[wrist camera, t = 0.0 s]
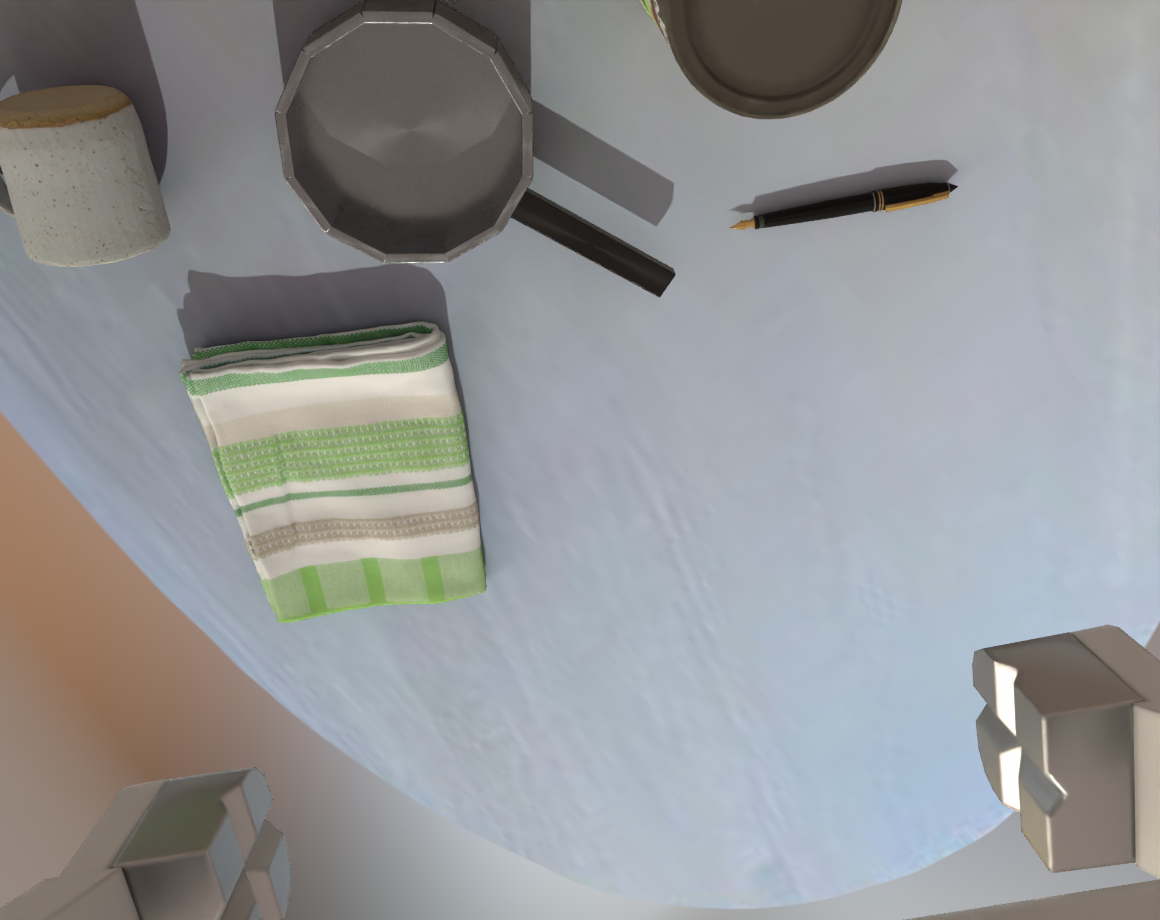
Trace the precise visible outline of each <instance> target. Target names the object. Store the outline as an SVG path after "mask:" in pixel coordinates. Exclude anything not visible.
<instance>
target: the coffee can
mask: <svg viewBox="0 0 1160 920" xmlns="http://www.w3.org/2000/svg"><path fill="white" fill-rule="evenodd" d="M639 1H640V2H641V4H642V6H643V7H644V9H645V10H646V12H647V13H648V14H649V15H650V16H651V17H652V19H653V20H654V21H655V23H656V24H657V26H658V27H659V29H660V31H661V32H662V34H663V36H664V37H665V39H666V40H667V42H668V44H669V45H670V47H671V50H672V52H673V54H674V57H675V59H676V61H677V63H678V64H679V66H680V68H681V70H682V71H683V73H684V74H685V76H686V77H687V79H688V80H689V82H690V83H691V84H692V85H693V86H694V87H695V88H696V89H697V90H698V91H699V92H700V93H701V94H702V95H703V96H705V97H706V98H707V99H708V100H709V101H711V102H713V103H714V104H716V105H717V106H719V107H721V108H723V109H725V110H727V111H730V112H732V113H735V114H738V115H740V116H744V117H750V118H756V119H781V118H789V117H793V116H798V115H801V114H804V113H807V112H811V111H813V110H815V109H817V108H819V107H821V106H823V105H825V104H827V103H829V102H831V101H833V100H834V99H836V98H837V97H839V96H840V95H842V94H843V93H844V92H845V91H847V90H848V89H849V88H850V87H852V86H853V85H854V84H855V83H856V82H857V81H858V80H859V79H860V78H861V77H862V76H863V75H864V74H865V73H866V72H867V71H868V69H869V68H870V67H871V66H872V64H873V63H874V62H875V61H876V59H877V58H878V56H879V55H880V53H881V52H882V50H883V48H884V47H885V45H886V43H887V41H888V39H889V37H890V35H891V33H892V31H893V28H894V26H895V23H896V21H897V18H898V15H899V12H900V8H901V3H902V0H639Z"/></svg>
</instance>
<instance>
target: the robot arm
mask: <svg viewBox="0 0 1160 920" xmlns="http://www.w3.org/2000/svg"><path fill="white" fill-rule="evenodd" d="M972 669H973V686H974V687H975V688H976V690H977V691H978V692H979V694H980V695H981V696H982V697H983V699H984V700H985V701H986V703H987V704H986V706H985V707H984V709H983V711H982V712H981V714H980V715H979V717H978V719H977V720H976V728H977V738H978V748H979V752H980V756H981V759H982V763H983V767H984V771H985V774H986V776H987V778H988V780H989V782H990V784H991V787H992V789H993V791H994V792H995V794H996V795H997V797H998V798H999V800H1000V801H1001V803H1002V804H1003V805H1004V806H1006V807H1009V808H1011V809H1013V810H1015V811H1017V812H1019V813H1020V816H1021V831H1022V833H1023V834H1024V836H1025V837H1026V838H1027V840H1028V841H1029V843H1030V844H1031V846H1032V847H1033V848H1034V850H1035V851H1036V853H1037V854H1038V855H1039V857H1040V858H1041V860H1042V861H1043V862H1044V864H1045V865H1046V867H1047V868H1048V870H1049V871H1050V872H1051V873H1057V872H1065V871H1072V870H1080V869H1088V868H1096V867H1103V866H1111V865H1119V864H1127V863H1134V862H1136V866H1137V867H1139V868H1140V869H1142V870H1144V871H1145V872H1147V873H1149V874H1151V875H1152V876H1154V877H1156V878H1158V879H1159V880H1153V881H1147V882H1141V883H1135V884H1128V885H1122V886H1115V887H1109V888H1103V889H1096V890H1090V891H1083V892H1077V893H1071V894H1065V895H1058V896H1052V897H1045V898H1039V899H1033V900H1026V901H1020V902H1014V903H1007V904H1001V905H994V906H988V907H982V908H975V909H969V910H963V911H957V912H950V913H943V914H937V915H931V916H925V917H918V918H912V919H906V920H1160V661H1159V660H1158V659H1157V658H1156V657H1155V656H1153V655H1152V654H1151V653H1150V652H1148V651H1147V650H1146V649H1145V648H1144V647H1142V646H1141V645H1140V644H1139V643H1137V642H1136V641H1135V640H1134V639H1132V638H1131V637H1130V636H1129V635H1128V634H1126V633H1125V632H1124V631H1123V630H1121V629H1120V628H1119V627H1116V626H1111V625H1104V626H1099V627H1094V628H1090V629H1085V630H1080V631H1075V632H1070V633H1069V632H1068V633H1063V634H1058V635H1052V636H1047V637H1042V638H1036V639H1031V640H1026V641H1021V642H1015V643H1010V644H1005V645H999V646H994V647H989V648H984V649H980V650H977V651H974V658H973V664H972ZM272 801H273V798H272V795H271V792H270V789H269V786H268V783H267V780H266V777H265V774H263V773H262V772H261V771H260V770H259V769H258V768H257V767H251V768H244V769H238V770H231V771H224V772H217V773H210V774H203V775H196V776H190V777H182V778H175V779H172V780H169V779H164V780H158V781H153V782H148V783H143V784H137V785H132V786H129V787H126V788H123V789H121V790H120V791H119V792H118V794H117V795H116V797H115V798H114V799H113V801H112V802H111V804H110V805H109V807H108V808H107V809H106V811H105V812H104V814H103V815H102V817H101V818H100V819H99V821H98V822H97V824H96V825H95V827H94V828H93V829H92V831H91V832H90V834H89V835H88V836H87V838H86V839H85V840H84V842H83V843H82V845H81V846H80V848H79V849H78V850H77V852H76V854H75V855H74V856H73V857H72V859H71V860H70V862H69V863H68V865H67V866H66V867H65V869H64V870H63V872H62V873H61V874H60V876H59V877H55V878H49V879H44V880H43V881H41V882H40V883H38V884H37V885H35V886H34V887H32V888H31V889H29V890H27V891H26V892H24V893H23V894H21V895H20V896H18V897H17V898H15V899H14V900H12V901H10V902H9V903H7V904H6V905H4V906H3V907H1V908H0V920H283V917H284V914H285V911H286V908H287V905H288V902H289V897H290V884H291V883H290V882H291V868H290V860H289V852H288V849H287V845H286V841H285V838H284V834H283V833H282V832H281V831H280V830H279V829H277V828H276V827H275V826H273V825H272V824H271V823H270V822H269V821H267V820H266V819H265V817H266V815H267V813H268V810H269V808H270V806H271V803H272Z"/></svg>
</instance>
